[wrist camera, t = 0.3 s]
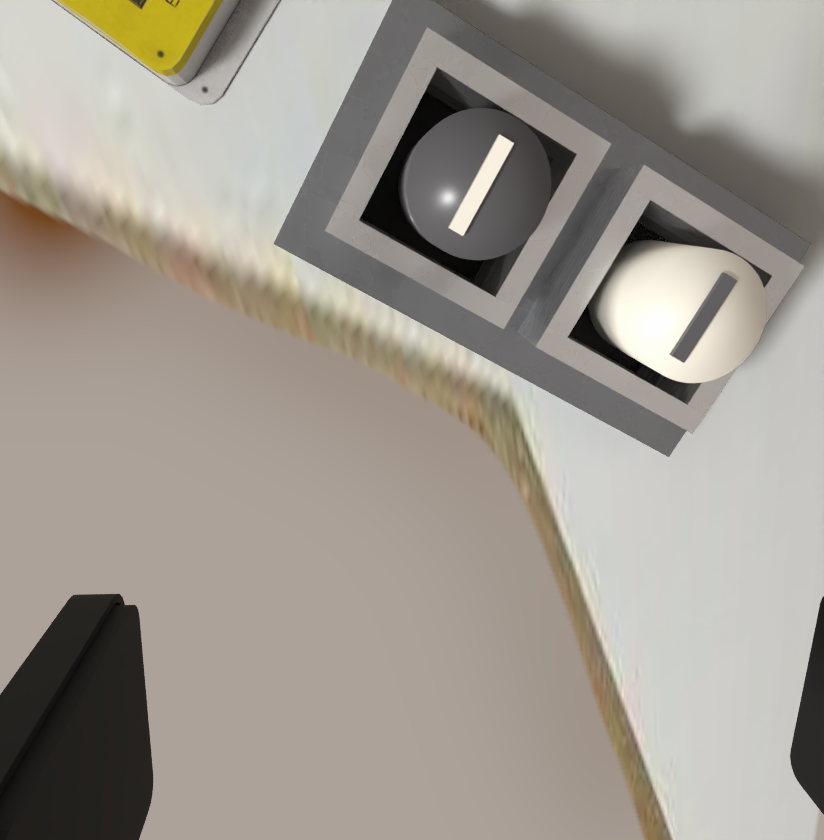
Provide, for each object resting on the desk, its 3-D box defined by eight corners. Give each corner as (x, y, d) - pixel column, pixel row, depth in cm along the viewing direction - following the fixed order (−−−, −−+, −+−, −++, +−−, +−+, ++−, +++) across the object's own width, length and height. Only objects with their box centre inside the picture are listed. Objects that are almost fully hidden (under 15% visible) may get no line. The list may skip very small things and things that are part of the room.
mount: (398, -4, 33) (408, -48, 27) (781, 240, 37) (862, 248, 31) (279, 240, 35) (263, 249, 29) (650, 441, 40) (701, 484, 34)
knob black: (435, 100, 31) (454, 77, 25) (538, 163, 32) (580, 155, 26) (377, 212, 32) (381, 216, 26) (478, 270, 33) (505, 286, 27)
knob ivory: (628, 218, 33) (688, 223, 27) (719, 274, 34) (797, 291, 28) (566, 320, 34) (612, 346, 28) (657, 371, 35) (719, 406, 29)
